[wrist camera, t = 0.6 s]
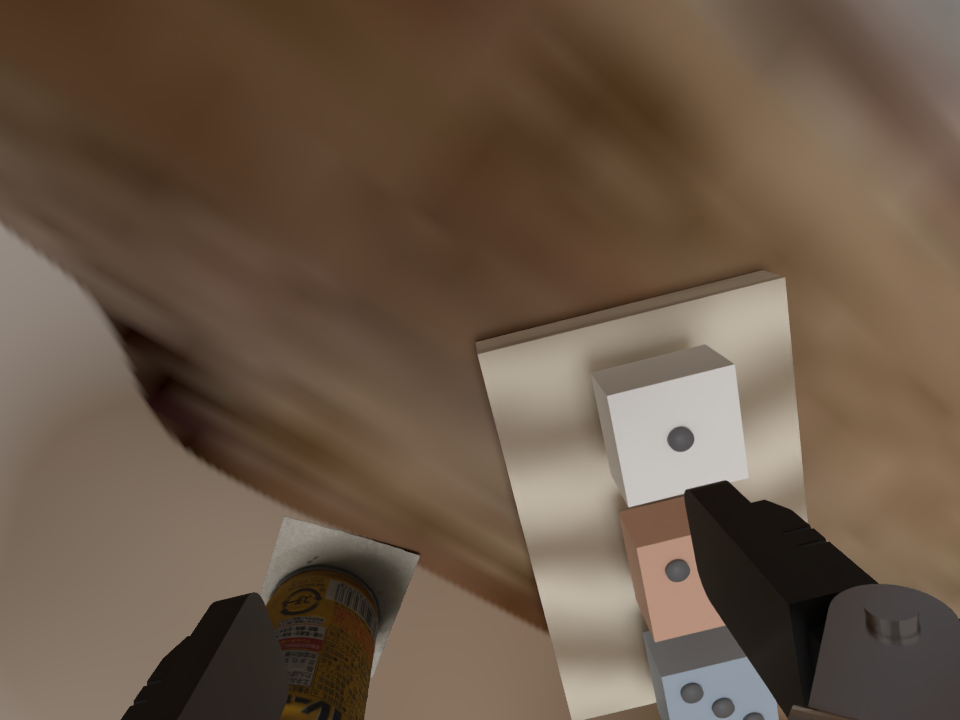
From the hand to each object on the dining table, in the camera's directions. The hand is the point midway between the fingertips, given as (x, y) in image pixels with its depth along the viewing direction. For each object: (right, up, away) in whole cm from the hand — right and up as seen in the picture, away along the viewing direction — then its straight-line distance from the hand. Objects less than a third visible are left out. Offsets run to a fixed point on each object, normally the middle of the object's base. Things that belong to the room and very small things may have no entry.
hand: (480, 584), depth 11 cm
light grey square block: (+8, +2, +16) cm, 18 cm away
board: (+9, -3, +21) cm, 23 cm away
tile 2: (+9, -5, +18) cm, 21 cm away
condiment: (-8, -9, +22) cm, 25 cm away
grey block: (+11, -11, +20) cm, 25 cm away
